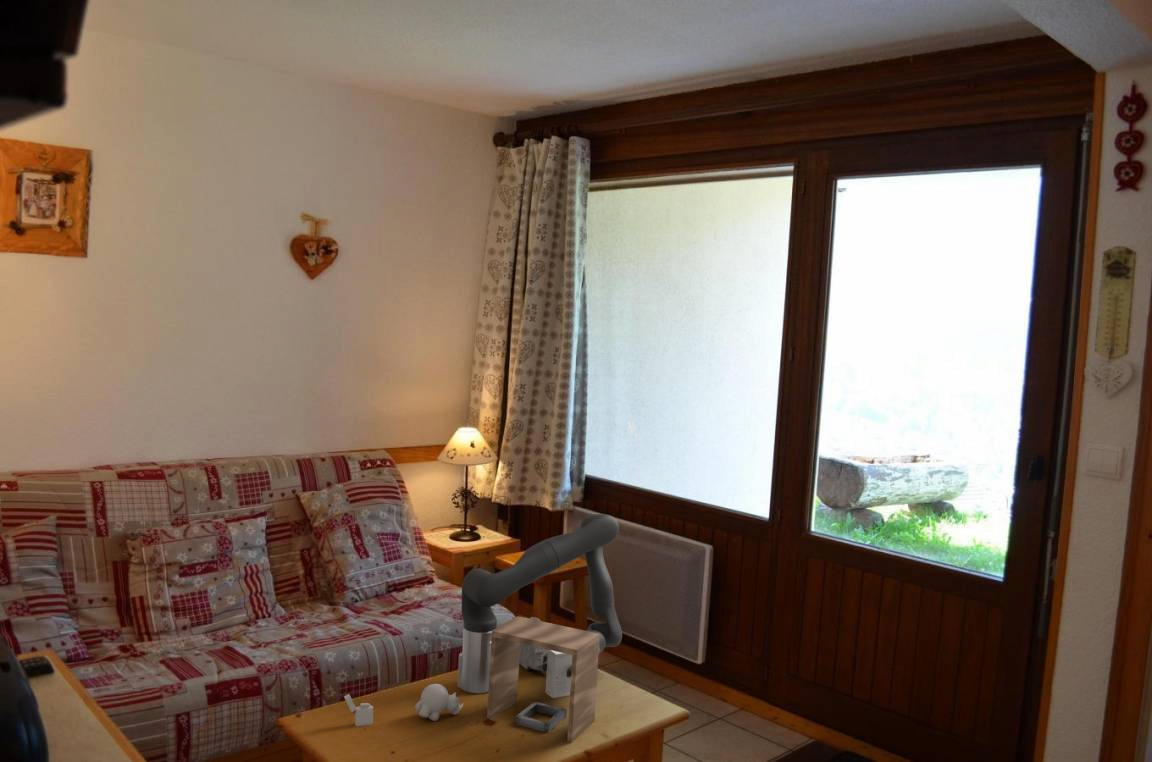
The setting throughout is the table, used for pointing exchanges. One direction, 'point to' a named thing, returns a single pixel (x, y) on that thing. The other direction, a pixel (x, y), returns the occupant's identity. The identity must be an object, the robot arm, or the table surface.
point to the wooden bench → (550, 638)
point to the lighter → (361, 712)
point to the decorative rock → (531, 655)
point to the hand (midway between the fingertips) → (556, 670)
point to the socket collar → (536, 724)
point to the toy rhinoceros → (437, 702)
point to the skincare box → (558, 674)
